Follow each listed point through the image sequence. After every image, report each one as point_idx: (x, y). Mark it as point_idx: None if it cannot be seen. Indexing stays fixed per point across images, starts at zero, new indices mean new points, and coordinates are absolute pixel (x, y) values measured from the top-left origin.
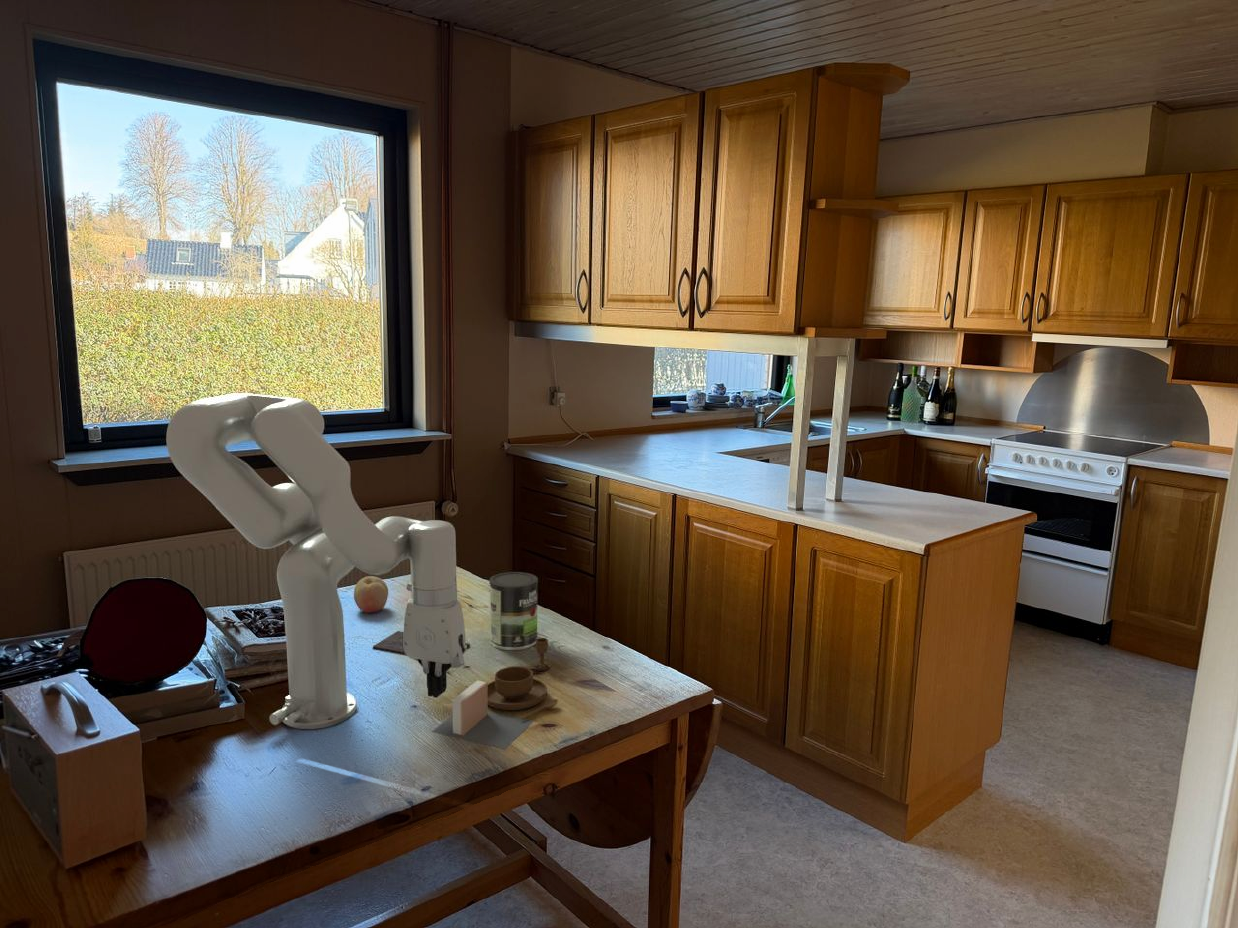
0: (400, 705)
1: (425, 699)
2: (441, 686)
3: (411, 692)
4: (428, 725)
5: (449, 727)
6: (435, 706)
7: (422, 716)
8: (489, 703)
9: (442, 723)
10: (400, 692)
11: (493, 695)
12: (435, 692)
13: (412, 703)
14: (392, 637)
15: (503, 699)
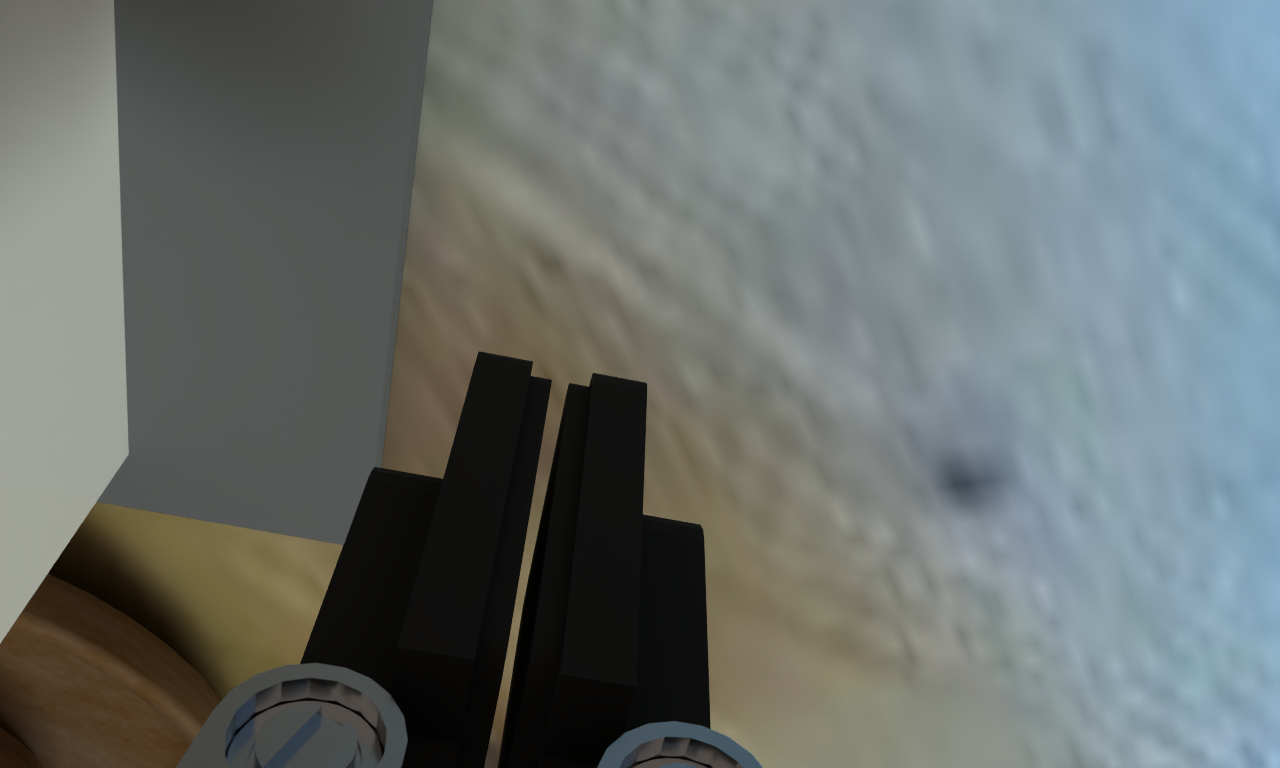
0: (1147, 471)
1: (887, 622)
2: (352, 524)
3: (1087, 716)
4: (619, 85)
5: (251, 16)
6: (718, 515)
7: (789, 287)
8: None
9: (406, 107)
10: (1211, 700)
11: (169, 757)
12: (467, 402)
13: (1011, 531)
14: None
15: (9, 705)
